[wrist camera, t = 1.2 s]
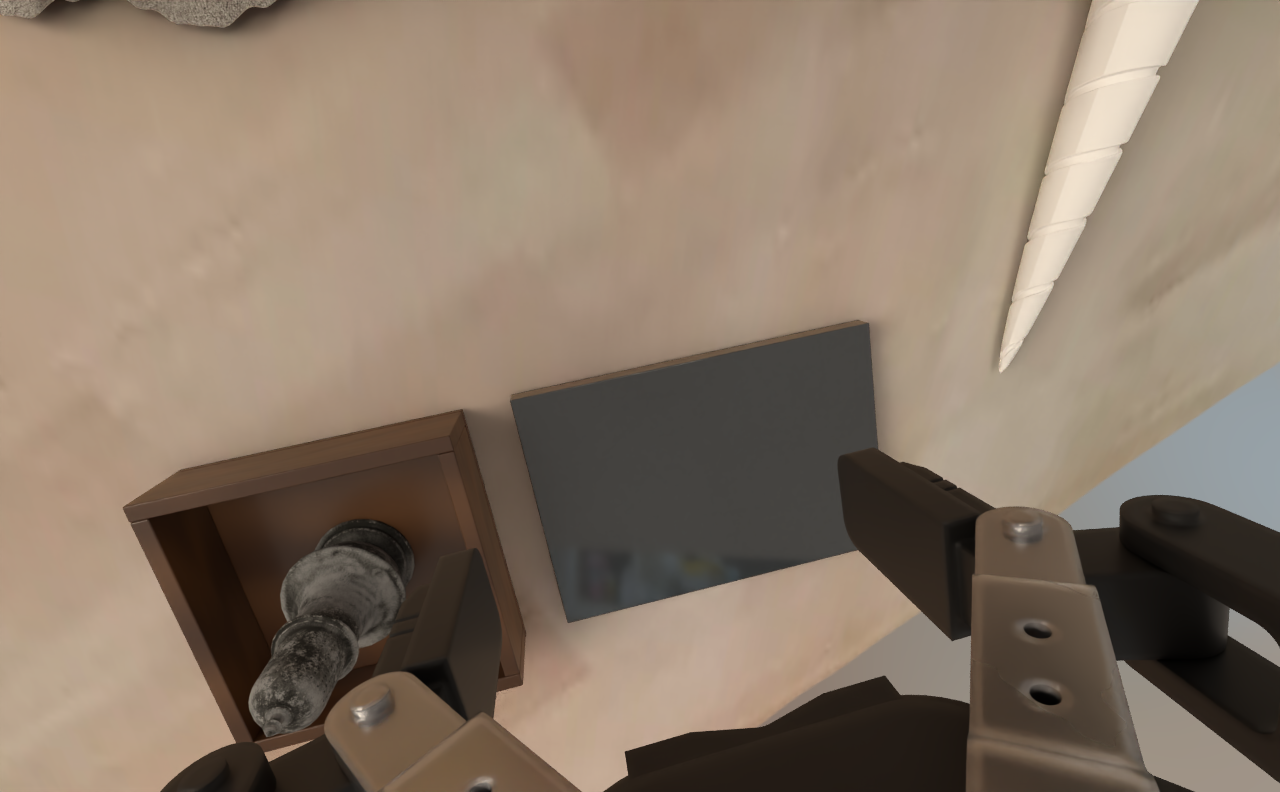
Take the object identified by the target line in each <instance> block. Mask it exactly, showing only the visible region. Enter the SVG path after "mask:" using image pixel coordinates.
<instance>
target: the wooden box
mask: <svg viewBox="0 0 1280 792" xmlns="http://www.w3.org/2000/svg"><path fill="white" fill-rule="evenodd" d="M123 510H124V512H125V514H126V516H127V518H128V520H129V522H131V526H132V528H133V530H134V532H135V534H136V536H137V538H138V541H139V543H140V545H141V547H142V549H143V551H144V553H145V555H146V557H147V559H148V561H149V563H150V565H151V567H152V570H153V572H154V574H155V576H156V578H157V580H158V582H159V584H160V586H161V588H162V590H163V592H164V594H165V596H166V599H167V601H168V603H169V605H170V607H171V609H172V611H173V613H174V615H175V617H176V619H177V621H178V623H179V625H180V628H181V630H182V632H183V634H184V636H185V638H186V640H187V642H188V644H189V646H190V648H191V650H192V652H193V654H194V657H195V659H196V661H197V663H198V665H199V667H200V669H201V671H202V673H203V675H204V677H205V679H206V681H207V683H208V686H209V688H210V690H211V692H212V694H213V696H214V698H215V700H216V702H217V704H218V706H219V708H220V710H221V712H222V715H223V717H224V719H225V721H226V723H227V725H228V727H229V729H230V731H231V733H232V735H233V737H234V739H235V741H236V743H240V742H253V743H257V744H258V745H260V746H261V748H262V750H263V752H268V751H272V750H276V749H279V748H283V747H287V746H291V745H295V744H299V743H302V742H306V741H310V740H314V739H316V738H318V737H320V736H322V735H323V734H325V732H324V725H325V721H326V718H327V716H328V714H329V713H330V711H331V709H332V708H333V707H334V706H335V705H336V703H337V702H338V701H339V700H340V699H341V698H342V697H343V696H345V695H346V694H347V693H348V692H350V691H351V690H352V689H354V688H355V687H357V686H358V685H360V684H362V683H363V682H365V681H367V680H369V679H371V677H372V675H373V672H374V670H375V668H376V665H377V663H378V660H379V658H380V655H381V653H382V651H383V648H384V646H385V643H386V641H387V638H389V635H387V636H386V637H385V638H384V639H382V640H380V641H378V642H376V643H375V644H373V645H370V646H367V647H363V648H359V654H358V658H357V661H356V663H355V665H354V667H353V668H352V670H351V671H350V672H349V673H348V674H347V675H346V676H345V677H343V678H342V679H340V680H338V681H337V683H336V685H335V687H334V689H333V691H332V694H331V696H330V698H329V700H328V702H327V704H326V706H325V708H324V710H323V711H322V713H321V714H320V716H319V717H318V718H317V719H316V720H315V721H314V722H313V723H312V724H311V725H309V726H307V727H305V728H304V729H301V730H299V731H295V732H292V733H285V734H276V735H274V736H270V737H266V735H265V733H264V731H263V729H262V727H260V726H259V725H258V724H257V723H256V722H255V721H254V719H253V717H252V715H251V713H250V710H249V703H248V702H249V697H250V693H251V690H252V687H253V686H254V684H255V682H256V680H257V679H258V677H259V676H260V674H261V673H262V671H263V670H264V668H265V667H266V665H267V664H268V662H269V661H270V659H271V658H272V655H271V646H272V641H273V639H274V637H275V635H276V633H277V632H278V630H279V629H280V628H281V627H282V626H283V625H284V624H285V623H287V619H286V617H285V615H284V613H283V611H282V607H281V599H280V593H281V588H282V584H283V581H284V579H285V577H286V575H287V574H288V572H289V570H290V569H291V568H292V567H293V566H294V565H295V564H296V563H297V562H298V561H299V560H300V559H301V558H302V557H304V556H306V555H308V554H310V553H312V552H313V551H315V548H316V546H317V545H318V543H319V541H320V539H321V538H322V537H323V536H324V535H325V534H326V533H327V532H328V531H329V530H330V529H331V528H333V527H335V526H337V525H339V524H340V523H342V522H346V521H350V520H354V519H371V520H376V521H381V522H383V523H385V524H388V525H390V526H392V527H394V528H395V529H396V530H398V531H399V532H400V533H401V534H403V536H404V537H405V538H406V540H407V541H408V542H409V544H410V545H411V548H412V551H413V554H414V563H415V567H414V571H413V575H412V578H411V580H410V581H409V583H408V584H407V586H406V588H405V591H406V599H407V598H408V597H409V596H410V594H411V593H412V592H413V591H414V590H415V589H416V588H417V587H418V586H422V585H425V584H429V583H431V580H432V577H433V574H434V571H435V569H436V566H437V563H438V560H439V558H440V557H441V556H445V555H449V554H452V553H456V552H460V551H464V550H468V549H472V548H477V549H478V550H479V552H480V554H481V557H482V560H483V563H484V566H485V570H486V573H487V576H488V579H489V582H490V586H491V589H492V592H493V595H494V599H495V602H496V605H497V608H498V612H499V616H500V621H501V627H502V648H501V657H500V665H499V674H498V682H497V691H496V692H498V691H502V690H506V689H510V688H514V687H517V686H521V685H523V674H524V656H525V639H526V631H525V628H524V624H523V621H522V617H521V614H520V610H519V607H518V603H517V600H516V596H515V593H514V589H513V585H512V582H511V578H510V575H509V571H508V568H507V564H506V561H505V557H504V554H503V550H502V547H501V543H500V540H499V536H498V533H497V529H496V526H495V522H494V519H493V515H492V512H491V508H490V505H489V501H488V498H487V494H486V491H485V487H484V483H483V480H482V476H481V473H480V469H479V466H478V462H477V459H476V455H475V452H474V448H473V445H472V441H471V438H470V434H469V431H468V427H467V424H466V420H465V417H464V413H463V410H462V409H461V410H456V411H451V412H447V413H442V414H437V415H433V416H428V417H424V418H419V419H414V420H410V421H405V422H400V423H396V424H391V425H387V426H382V427H377V428H373V429H368V430H363V431H359V432H354V433H350V434H345V435H340V436H336V437H331V438H326V439H322V440H317V441H313V442H308V443H303V444H299V445H294V446H289V447H285V448H280V449H276V450H271V451H266V452H262V453H257V454H252V455H248V456H243V457H239V458H234V459H229V460H225V461H220V462H215V463H211V464H206V465H201V466H197V467H192V468H188V469H183V470H180V471H178V472H176V473H175V474H174V475H172V476H170V477H169V478H167V479H166V480H164V481H163V482H161V483H160V484H158V485H156V486H155V487H153V488H152V489H150V490H149V491H147V492H146V493H144V494H143V495H141V496H139V497H138V498H136V499H135V500H133V501H132V502H130V503H129V504H127V505H125V506H124V507H123Z"/></svg>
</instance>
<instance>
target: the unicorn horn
mask: <svg viewBox="0 0 1280 792" xmlns="http://www.w3.org/2000/svg"><path fill="white" fill-rule="evenodd" d="M1198 1H1199V0H1092V3H1091V7H1090V10H1089V14H1088V17H1087V21H1086V26H1085V31H1084V32H1083V35H1082V39H1081V42H1080V46H1079V49H1078V53H1077V56H1076V60H1075V64H1074V67H1073V71H1072V74H1071V78H1070V81H1069V85H1068V88H1067V92H1066V95H1065V100H1064V106H1063V107H1062V110H1061V113H1060V117H1059V120H1058V124H1057V128H1056V131H1055V135H1054V138H1053V142H1052V146H1051V149H1050V153H1049V157H1048V160H1047V164H1046V167H1045V172H1044V173H1045V174H1046V176H1045V177H1044V178H1043V179H1042V183H1041V187H1040V191H1039V194H1038V198H1037V201H1036V205H1035V209H1034V212H1033V216H1032V219H1031V223H1030V227H1029V231H1028V235H1027V239H1028V240H1029V242H1027V243H1026V244H1025V246H1024V250H1023V254H1022V258H1021V262H1020V266H1019V270H1018V274H1017V278H1016V283H1015V287H1014V291H1013V295H1012V302H1013V304H1012V305H1011V306H1010V308H1009V312H1008V317H1007V321H1006V326H1005V331H1004V335H1003V340H1002V346H1001V352H1000V360H1001V361H1000V364H999V371H1000V373H1001V372H1003V371H1004V370H1005V369H1006V368H1007V367H1008V365H1009V364H1010V362H1011V361H1012V360H1013V358H1014V356H1015V355H1016V353H1017V351H1018V350H1019V348H1020V347H1021V345H1022V343H1023V338H1025V337H1026V336H1027V334H1028V332H1029V331H1030V329H1031V327H1032V325H1033V324H1034V322H1035V320H1036V318H1037V316H1038V314H1039V313H1040V311H1041V309H1042V307H1043V305H1044V303H1045V301H1046V300H1047V298H1048V296H1049V294H1050V292H1051V290H1052V288H1053V286H1054V283H1053V281H1054V280H1056V279H1057V278H1058V277H1059V275H1060V273H1061V271H1062V269H1063V267H1064V266H1065V264H1066V262H1067V260H1068V258H1069V256H1070V254H1071V252H1072V250H1073V248H1074V246H1075V245H1076V243H1077V241H1078V239H1079V237H1080V235H1081V233H1082V231H1083V229H1084V227H1085V225H1086V222H1087V220H1086V218H1085V217H1086V216H1089V215H1091V213H1092V212H1093V210H1094V208H1095V206H1096V204H1097V202H1098V200H1099V198H1100V196H1101V194H1102V192H1103V190H1104V188H1105V186H1106V184H1107V182H1108V180H1109V178H1110V176H1111V174H1112V172H1113V171H1114V169H1115V167H1116V165H1117V163H1118V161H1119V159H1120V157H1121V155H1122V152H1123V150H1122V149H1121V148H1120V145H1121V144H1124V143H1126V142H1128V141H1129V139H1130V137H1131V135H1132V133H1133V131H1134V129H1135V127H1136V125H1137V123H1138V121H1139V119H1140V117H1141V115H1142V113H1143V111H1144V109H1145V107H1146V105H1147V103H1148V101H1149V99H1150V97H1151V95H1152V93H1153V91H1154V89H1155V87H1156V85H1157V83H1158V81H1159V79H1160V75H1156V73H1157V71H1158V68H1159V67H1160V66H1165V65H1167V63H1168V61H1169V59H1170V57H1171V55H1172V53H1173V51H1174V49H1175V47H1176V45H1177V43H1178V41H1179V39H1180V37H1181V35H1182V33H1183V31H1184V29H1185V27H1186V25H1187V23H1188V21H1189V19H1190V17H1191V15H1192V13H1193V11H1194V9H1195V7H1196V5H1197V3H1198Z"/></svg>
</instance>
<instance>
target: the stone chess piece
mask: <svg viewBox="0 0 1280 792" xmlns="http://www.w3.org/2000/svg"><path fill="white" fill-rule="evenodd" d="M414 567H415V563H414V554H413V551H412V548H411V545H410V544H409V542H408V541H407V540H406V538H405V537H404V536H403V534H401V533H400V532H399V531H398V530H396V529H395V528H394V527H392V526H390V525H388V524H385V523H383V522H381V521H376V520H371V519H354V520H350V521H346V522H342V523H340V524H339V525H337V526H335V527H333V528H331V529H330V530H329V531H328V532H327V533H326V534H325V535H324V536H323V537H322V538H321V539H320V541H319V543H318V545H317V546H316V548H315V551H313V552H312V553H310V554H308V555H306V556H304V557H302V558H301V559H300V560H299V561H298V562H297V563H296V564H295V565H294V566H293V567H292V568H291V569H290V570H289V572H288V574H287V575H286V577H285V579H284V581H283V584H282V588H281V593H280V599H281V607H282V611H283V613H284V615H285V617H286V619H287V623H285V624H284V625H283V626H282V627H281V628H280V629H279V630H278V632H277V633H276V635H275V637H274V639H273V641H272V646H271V655H272V658H271V659H270V661H269V662H268V664H267V665H266V667H265V668H264V670H263V671H262V673H261V674H260V676H259V677H258V679H257V680H256V682H255V684H254V686H253V687H252V690H251V693H250V697H249V702H248V703H249V710H250V713H251V715H252V717H253V719H254V721H255V722H256V723H257V724H258V725H259V726H260V727H262V729H263V731H264V733H265V735H266V737H270V736H274V735H276V734H285V733H292V732H295V731H299V730H301V729H304V728H305V727H307V726H309V725H311V724H312V723H313V722H314V721H315V720H316V719H317V718H318V717H319V716H320V714H321V713H322V711H323V710H324V708H325V706H326V704H327V702H328V700H329V698H330V696H331V694H332V691H333V689H334V687H335V685H336V683H337V681H338V680H340V679H342V678H343V677H345V676H346V675H347V674H348V673H349V672H350V671H351V670H352V668H353V667H354V665H355V663H356V661H357V658H358V654H359V648H363V647H367V646H370V645H373V644H375V643H376V642H378V641H380V640H382V639H384V638H385V637H386V636H387V635H389V634H390V631H391V629H392V626H393V624H395V619H396V617H397V614H398V612H399V609H400V607H401V605H402V603H403V602H404V601H405V600H406V591H405V588H406V586H407V584H408V583H409V581H410V580H411V578H412V575H413V571H414Z"/></svg>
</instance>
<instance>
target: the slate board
mask: <svg viewBox="0 0 1280 792" xmlns="http://www.w3.org/2000/svg"><path fill="white" fill-rule="evenodd" d="M510 402H511V406H512V410H513V414H514V418H515V421H516V425H517V429H518V433H519V437H520V441H521V445H522V448H523V452H524V456H525V460H526V464H527V468H528V472H529V475H530V479H531V483H532V487H533V491H534V495H535V499H536V503H537V506H538V510H539V514H540V518H541V522H542V526H543V530H544V533H545V537H546V541H547V545H548V549H549V553H550V557H551V561H552V564H553V568H554V572H555V576H556V580H557V584H558V588H559V591H560V595H561V599H562V603H563V607H564V611H565V615H566V619H567V622H568V623H571V622H575V621H579V620H583V619H587V618H591V617H595V616H599V615H602V614H606V613H610V612H614V611H618V610H622V609H626V608H630V607H634V606H638V605H642V604H646V603H650V602H654V601H658V600H662V599H666V598H670V597H674V596H678V595H682V594H686V593H690V592H694V591H697V590H701V589H705V588H709V587H713V586H717V585H721V584H725V583H729V582H733V581H737V580H741V579H745V578H749V577H753V576H757V575H761V574H765V573H769V572H773V571H777V570H781V569H785V568H788V567H792V566H796V565H800V564H804V563H808V562H812V561H816V560H820V559H824V558H828V557H832V556H836V555H840V554H844V553H848V552H852V551H856V550H858V549H857V548H856V547H855V546H854V544H853V543H852V541H851V539H850V537H849V535H848V533H847V530H846V527H845V523H844V517H843V509H842V501H841V493H840V484H839V476H838V467H837V463H838V458H839V457H840V456H841V455H844V454H848V453H852V452H856V451H860V450H864V449H868V448H872V447H873V448H876V449H878V442H877V428H876V414H875V401H874V387H873V373H872V359H871V346H870V332H869V323H867V322H863V321H860V320H856V321H852V322H847V323H842V324H838V325H833V326H828V327H824V328H819V329H814V330H810V331H805V332H801V333H796V334H791V335H787V336H782V337H777V338H773V339H768V340H763V341H759V342H754V343H750V344H745V345H740V346H736V347H731V348H726V349H722V350H717V351H712V352H708V353H703V354H699V355H694V356H689V357H685V358H680V359H675V360H671V361H666V362H661V363H657V364H652V365H648V366H643V367H638V368H634V369H629V370H624V371H620V372H615V373H610V374H606V375H601V376H597V377H592V378H587V379H583V380H578V381H573V382H569V383H564V384H559V385H555V386H550V387H545V388H541V389H536V390H532V391H527V392H522V393H518V394H513V395H512V396H511V400H510Z"/></svg>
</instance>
